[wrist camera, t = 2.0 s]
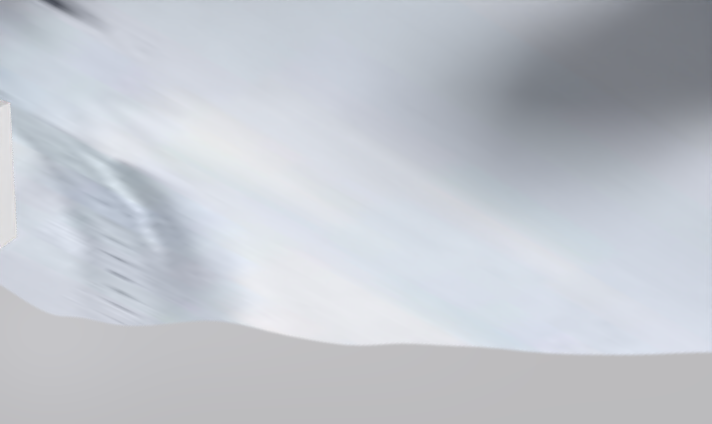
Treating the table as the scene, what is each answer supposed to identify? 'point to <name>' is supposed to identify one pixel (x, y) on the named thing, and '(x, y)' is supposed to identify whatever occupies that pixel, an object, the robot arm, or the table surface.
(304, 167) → the table surface
